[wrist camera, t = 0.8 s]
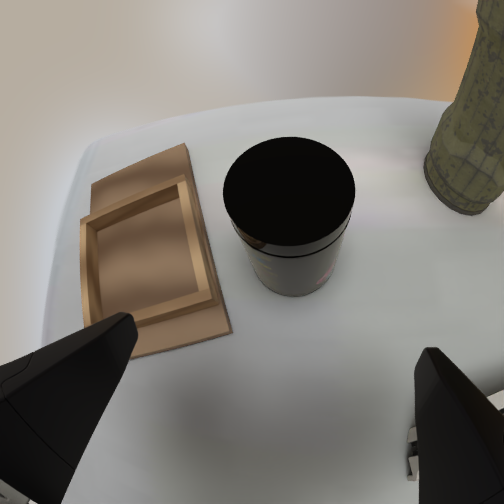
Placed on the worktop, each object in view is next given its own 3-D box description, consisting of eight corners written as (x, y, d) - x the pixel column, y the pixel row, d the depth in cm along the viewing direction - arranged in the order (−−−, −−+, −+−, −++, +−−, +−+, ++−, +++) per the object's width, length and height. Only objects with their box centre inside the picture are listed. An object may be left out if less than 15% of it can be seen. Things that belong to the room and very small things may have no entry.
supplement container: (312, 313, 22) (322, 271, 12) (238, 275, 24) (197, 212, 14) (347, 241, 24) (372, 161, 14) (277, 210, 26) (262, 123, 16)
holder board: (232, 332, 22) (222, 327, 19) (108, 363, 23) (87, 361, 20) (187, 149, 30) (178, 130, 27) (96, 189, 31) (82, 174, 28)
